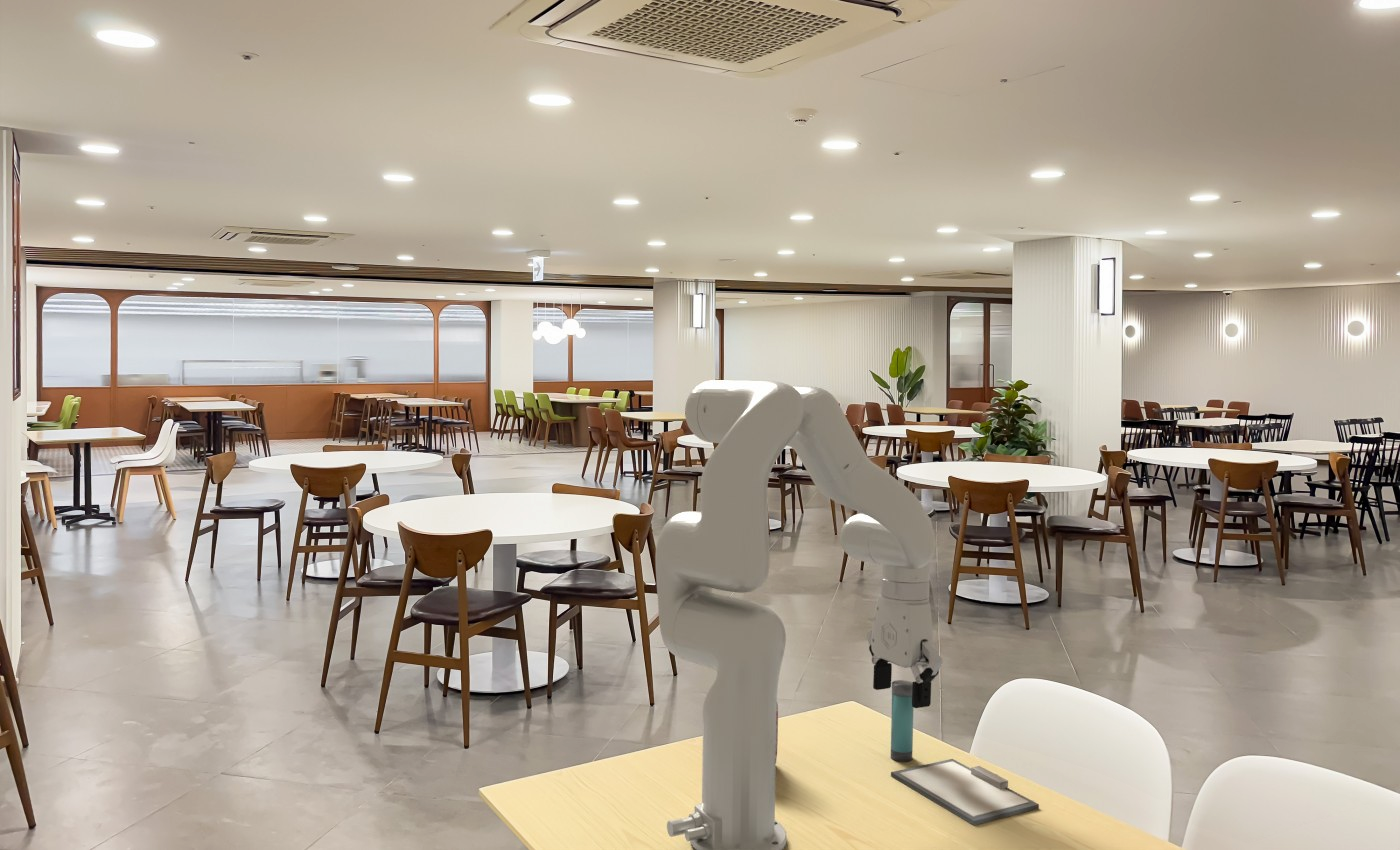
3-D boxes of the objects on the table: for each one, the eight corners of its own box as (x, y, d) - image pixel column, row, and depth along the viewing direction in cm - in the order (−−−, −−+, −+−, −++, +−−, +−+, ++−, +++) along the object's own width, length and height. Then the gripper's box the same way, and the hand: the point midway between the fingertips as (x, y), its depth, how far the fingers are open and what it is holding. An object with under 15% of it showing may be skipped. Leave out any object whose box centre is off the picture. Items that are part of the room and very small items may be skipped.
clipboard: (973, 825, 133) (973, 813, 133) (890, 775, 149) (891, 764, 149) (1038, 808, 139) (1039, 796, 139) (952, 762, 155) (952, 751, 155)
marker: (902, 763, 154) (904, 688, 153) (885, 756, 157) (887, 682, 156) (917, 758, 156) (919, 684, 156) (900, 751, 159) (902, 678, 158)
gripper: (853, 581, 161) (849, 684, 162) (921, 603, 146) (917, 717, 146) (889, 578, 164) (886, 679, 165) (961, 599, 149) (956, 711, 150)
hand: (901, 697), depth 156 cm, fingers open, 9 cm apart
